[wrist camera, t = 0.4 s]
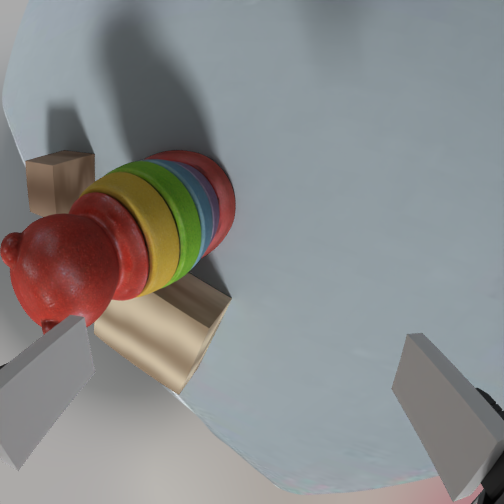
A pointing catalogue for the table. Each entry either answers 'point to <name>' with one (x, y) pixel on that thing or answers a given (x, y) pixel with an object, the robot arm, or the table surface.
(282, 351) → the table surface
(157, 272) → the stacking bear
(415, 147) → the table surface
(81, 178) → the walnut cube
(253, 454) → the table surface
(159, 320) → the maple block
